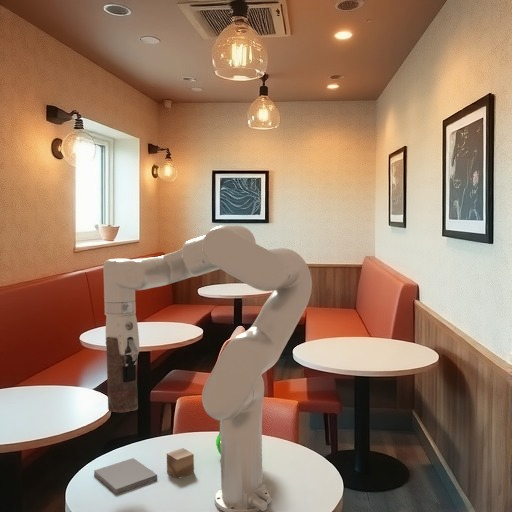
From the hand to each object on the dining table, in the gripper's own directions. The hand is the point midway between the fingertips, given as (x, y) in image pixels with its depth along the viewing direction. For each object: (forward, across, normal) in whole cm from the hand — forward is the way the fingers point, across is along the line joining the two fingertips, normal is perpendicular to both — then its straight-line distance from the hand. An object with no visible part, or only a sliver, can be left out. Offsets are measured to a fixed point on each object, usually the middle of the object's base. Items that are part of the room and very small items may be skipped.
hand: (122, 377), depth 132 cm
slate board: (+26, 0, 0) cm, 26 cm away
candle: (+9, 0, 0) cm, 9 cm away
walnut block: (+26, -7, -12) cm, 29 cm away
